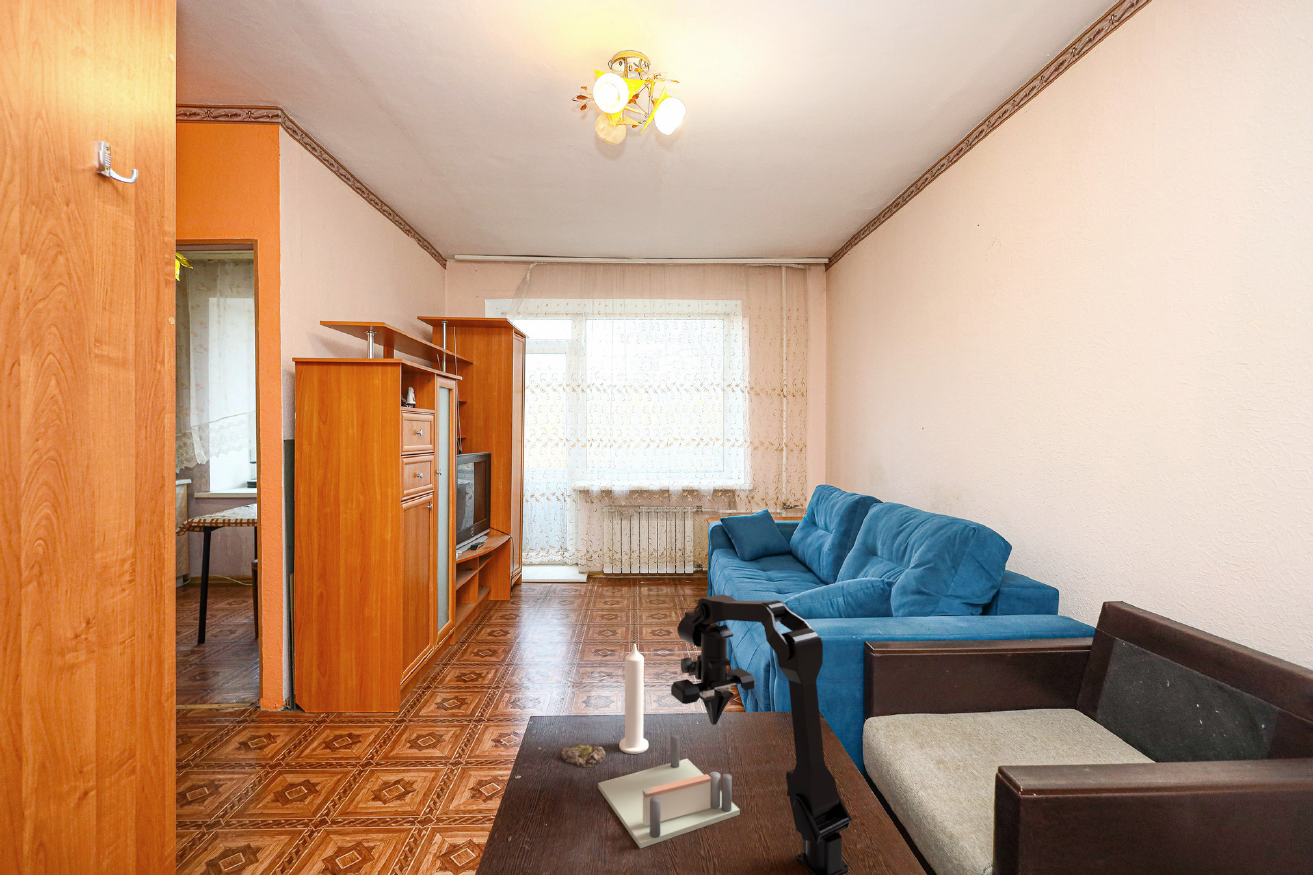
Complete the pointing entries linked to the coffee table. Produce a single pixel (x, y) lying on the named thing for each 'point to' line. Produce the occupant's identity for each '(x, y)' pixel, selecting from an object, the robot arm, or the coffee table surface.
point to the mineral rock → (583, 755)
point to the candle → (634, 704)
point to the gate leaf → (684, 796)
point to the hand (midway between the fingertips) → (713, 723)
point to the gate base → (633, 802)
